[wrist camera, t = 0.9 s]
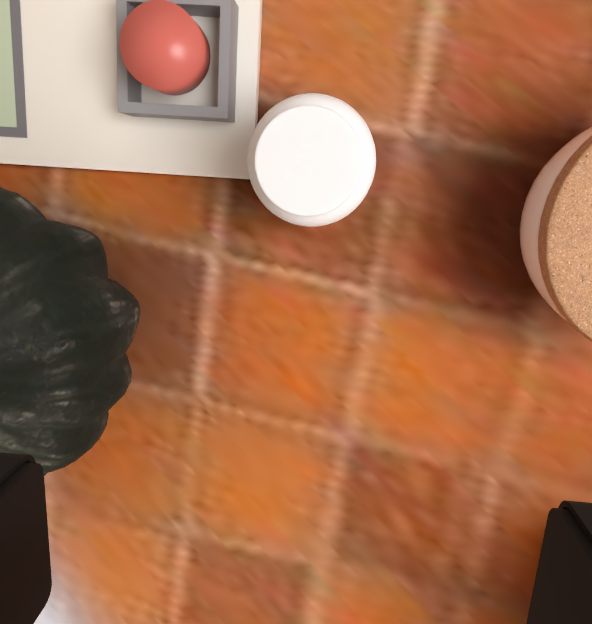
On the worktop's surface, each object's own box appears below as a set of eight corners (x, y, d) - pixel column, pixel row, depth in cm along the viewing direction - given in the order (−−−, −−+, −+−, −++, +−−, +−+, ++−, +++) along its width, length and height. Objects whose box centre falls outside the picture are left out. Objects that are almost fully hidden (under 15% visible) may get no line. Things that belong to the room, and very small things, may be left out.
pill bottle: (259, 116, 29) (224, 88, 20) (362, 103, 29) (376, 67, 19) (272, 220, 30) (244, 241, 21) (370, 210, 30) (387, 225, 20)
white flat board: (-143, -67, 28) (-193, -93, 26) (264, -50, 27) (256, -75, 25) (-118, 155, 31) (-161, 153, 28) (254, 179, 30) (247, 179, 27)
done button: (135, 11, 26) (118, -3, 24) (211, 14, 26) (201, 1, 24) (135, 93, 27) (119, 86, 25) (209, 97, 26) (199, 91, 24)
